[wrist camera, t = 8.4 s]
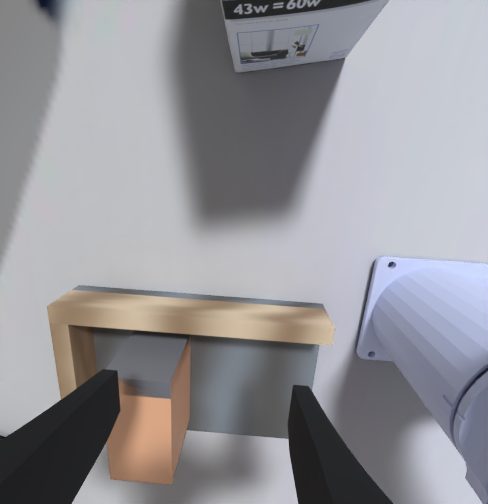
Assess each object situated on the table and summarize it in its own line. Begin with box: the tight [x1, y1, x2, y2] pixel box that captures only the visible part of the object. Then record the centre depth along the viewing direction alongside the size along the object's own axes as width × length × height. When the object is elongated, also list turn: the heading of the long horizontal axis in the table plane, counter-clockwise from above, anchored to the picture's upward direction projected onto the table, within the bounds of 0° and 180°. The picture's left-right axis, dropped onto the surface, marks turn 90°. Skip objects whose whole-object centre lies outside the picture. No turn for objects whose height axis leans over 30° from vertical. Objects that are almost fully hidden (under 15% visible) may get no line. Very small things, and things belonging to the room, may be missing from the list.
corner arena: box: [47, 286, 335, 439], centre depth 20 cm, size 18×12×3 cm, turn 86°
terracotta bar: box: [106, 330, 191, 485], centre depth 19 cm, size 8×4×5 cm, turn 176°
